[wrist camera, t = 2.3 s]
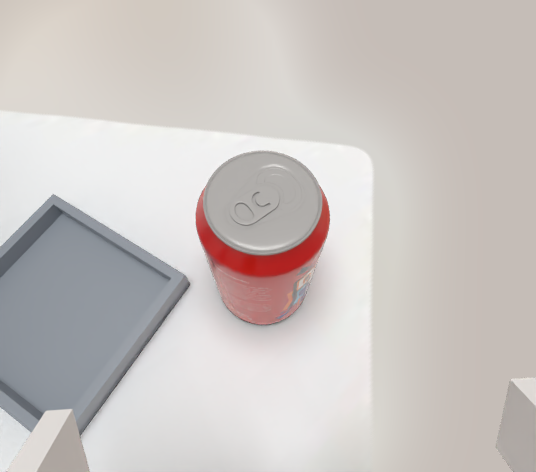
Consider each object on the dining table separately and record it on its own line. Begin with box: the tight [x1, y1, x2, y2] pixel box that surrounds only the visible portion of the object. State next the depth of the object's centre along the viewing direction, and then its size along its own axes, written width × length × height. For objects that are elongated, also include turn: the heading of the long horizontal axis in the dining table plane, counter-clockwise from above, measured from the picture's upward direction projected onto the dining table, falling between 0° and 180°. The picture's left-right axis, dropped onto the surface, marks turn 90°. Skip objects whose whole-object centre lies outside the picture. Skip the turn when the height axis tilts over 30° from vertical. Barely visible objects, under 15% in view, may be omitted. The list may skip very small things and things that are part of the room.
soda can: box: [196, 151, 330, 325], centre depth 27 cm, size 8×8×15 cm
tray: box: [0, 194, 190, 435], centre depth 32 cm, size 15×15×2 cm
